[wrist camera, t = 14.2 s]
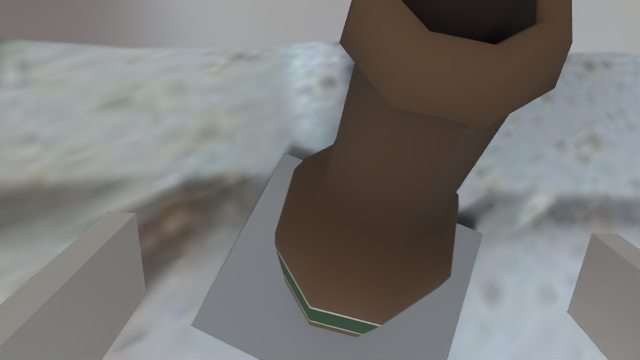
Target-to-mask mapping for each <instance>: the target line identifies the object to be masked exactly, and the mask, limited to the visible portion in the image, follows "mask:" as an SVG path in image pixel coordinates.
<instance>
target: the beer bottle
mask: <svg viewBox="0 0 640 360" xmlns="http://www.w3.org/2000/svg"><path fill="white" fill-rule="evenodd" d="M340 44H341V46H342V47H343V48H344V49H345V51H346V52H347V53H348V54H349V56H350V57H351V58H352V59H353V61H354V62H355V65H354V69H353V73H352V77H351V81H350V85H349V89H348V93H347V97H346V101H345V105H344V109H343V113H342V117H341V122H340V126H339V130H338V134H337V138H336V140H335V142H334V144H333V145H331V146H329V147H327V148H325V149H323V150H321V151H320V152H318V153H316V154H314V155H312V156H310V157H308V158H306V159H304V160H303V161H302V162H301V163H300V164H299V165H298V166H297V167H296V168H295V169H294V172H293V175H292V178H291V182H290V185H289V188H288V192H287V195H286V198H285V202H284V205H283V208H282V212H281V215H280V218H279V221H278V225H277V228H276V231H275V248H276V251H277V255H278V258H279V261H280V265H281V268H282V272H283V275H284V279H285V282H286V284H287V286H288V287H289V289H290V291H291V293H292V294H293V296H294V298H295V300H296V302H297V303H298V305H299V307H300V309H301V310H302V312H303V314H304V316H305V318H306V319H307V321H308V323H309V325H311V326H315V327H319V328H323V329H326V330H330V331H334V332H338V333H342V334H345V335H349V336H353V337H358V336H360V335H363V334H365V333H367V332H369V331H371V330H373V329H375V328H377V327H380V326H382V325H383V324H385V323H386V322H388V321H389V320H391V319H392V318H394V317H395V316H397V315H398V314H400V313H401V312H403V311H404V310H406V309H407V308H409V307H410V306H412V305H413V304H415V303H416V302H418V301H419V300H421V299H422V298H424V297H425V296H427V295H428V294H430V293H431V292H433V291H434V290H436V289H437V288H439V287H440V286H441V285H442V284H443V283H444V282H445V281H447V280H448V279H449V278H450V277H451V270H452V261H453V252H454V243H455V234H456V225H457V216H458V194H457V193H456V192H457V190H458V189H459V187H460V186H461V184H462V183H463V181H464V180H465V178H466V177H467V175H468V174H469V173H470V171H471V170H472V168H473V167H474V165H475V164H476V162H477V161H478V159H479V158H480V156H481V155H482V153H483V152H484V150H485V149H486V147H487V146H488V145H489V143H490V142H491V140H492V139H493V137H494V136H495V134H496V133H497V131H498V130H499V128H500V127H501V125H502V124H503V122H504V121H505V119H506V118H507V117H508V115H509V114H510V113H512V112H514V111H515V110H517V109H519V108H521V107H522V106H524V105H526V104H528V103H529V102H531V101H533V100H535V99H536V98H538V97H540V96H542V95H543V94H545V93H547V92H549V91H550V90H552V89H554V88H555V86H556V83H557V81H558V78H559V76H560V73H561V70H562V68H563V65H564V63H565V60H566V57H567V55H568V52H569V50H570V47H571V44H572V0H352V2H351V5H350V9H349V12H348V16H347V19H346V22H345V26H344V29H343V33H342V36H341V39H340Z"/></svg>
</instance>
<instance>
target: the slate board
mask: <svg viewBox="0 0 640 360" xmlns="http://www.w3.org/2000/svg"><path fill="white" fill-rule="evenodd" d="M302 161H303V160H301V159H299V158H296V157H294V156H291V155H289V154H286V153H284V155H283V157H282V158H281V160H280V162H279V164H278V166H277V168H276V170H275V171H274V173H273V175H272V177H271V179H270V181H269V182H268V184H267V186H266V188H265V190H264V192H263V194H262V195H261V197H260V199H259V201H258V203H257V205H256V206H255V208H254V210H253V212H252V214H251V216H250V218H249V219H248V221H247V223H246V225H245V227H244V229H243V230H242V232H241V234H240V236H239V238H238V240H237V242H236V243H235V245H234V247H233V249H232V251H231V253H230V254H229V256H228V258H227V260H226V262H225V264H224V266H223V267H222V269H221V271H220V273H219V275H218V277H217V278H216V280H215V282H214V284H213V286H212V288H211V290H210V291H209V293H208V295H207V297H206V299H205V301H204V302H203V304H202V306H201V308H200V310H199V312H198V314H197V315H196V317H195V319H194V321H193V323H192V325H191V326H193V327H195V328H197V329H199V330H201V331H203V332H205V333H207V334H209V335H211V336H213V337H215V338H217V339H219V340H221V341H223V342H225V343H227V344H229V345H231V346H233V347H235V348H237V349H239V350H241V351H243V352H245V353H247V354H249V355H252V356H254V357H256V358H258V359H260V360H447V358H448V355H449V351H450V348H451V344H452V341H453V337H454V333H455V330H456V326H457V323H458V319H459V316H460V312H461V309H462V305H463V302H464V298H465V294H466V291H467V287H468V284H469V280H470V277H471V273H472V270H473V266H474V263H475V259H476V255H477V252H478V248H479V245H480V241H481V238H482V233H480V232H477V231H475V230H472V229H470V228H468V227H465V226H463V225H460V224H458V223H457V225H456V234H455V243H454V252H453V261H452V270H451V277H450V278H449V279H448V280H447V281H445V282H444V283H443V284H442V285H441V286H440V287H439V288H437V289H436V290H434V291H433V292H431V293H430V294H428V295H427V296H425V297H424V298H422V299H421V300H419V301H418V302H416V303H415V304H413V305H412V306H410V307H409V308H407V309H406V310H404V311H403V312H401V313H400V314H398V315H397V316H395V317H394V318H392V319H391V320H389V321H388V322H386V323H385V324H383V325H382V326H380V327H377V328H375V329H373V330H371V331H369V332H367V333H365V334H363V335H360V336H358V337H353V336H349V335H345V334H342V333H338V332H334V331H330V330H326V329H323V328H319V327H315V326H311V325H309V323H308V321H307V319H306V318H305V316H304V314H303V312H302V310H301V309H300V307H299V305H298V303H297V302H296V300H295V298H294V296H293V294H292V293H291V291H290V289H289V287H288V286H287V284H286V282H285V279H284V275H283V272H282V268H281V265H280V261H279V258H278V255H277V251H276V248H275V231H276V228H277V225H278V221H279V218H280V215H281V212H282V208H283V205H284V202H285V198H286V195H287V192H288V188H289V185H290V182H291V178H292V175H293V172H294V169H295V168H296V167H297V166H298V165H299V164H300V163H301V162H302Z"/></svg>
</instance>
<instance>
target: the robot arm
mask: <svg viewBox="0 0 640 360" xmlns="http://www.w3.org/2000/svg"><path fill="white" fill-rule="evenodd" d="M145 295H146V291H145V283H144V275H143V267H142V260H141V252H140V244H139V236H138V228H137V220H136V213H117V212H108V213H107V214H106V215H105V216H104V217H102V218H101V219H100V220H99V221H98V222H97V223H95V224H94V225H93V226H92V227H91V228H90V229H88V230H87V231H86V232H85V233H84V234H83V235H81V236H80V237H79V238H78V239H77V240H75V241H74V242H73V243H72V244H71V245H70V246H68V247H67V248H66V249H65V250H64V251H63V252H61V253H60V254H59V255H58V256H57V257H56V258H54V259H53V260H52V261H51V262H50V263H49V264H47V265H46V266H45V267H44V268H43V269H42V270H40V271H39V272H38V273H37V274H36V275H35V276H33V277H32V278H31V279H30V280H29V281H27V282H26V283H25V284H24V285H23V286H22V287H20V288H19V289H18V290H17V291H16V292H15V293H13V294H12V295H11V296H10V297H9V298H8V299H6V300H5V301H4V302H3V303H2V304H1V305H0V360H102V359H103V357H104V356H105V354H106V353H107V351H108V350H109V348H110V347H111V345H112V344H113V342H114V341H115V339H116V338H117V336H118V335H119V333H120V332H121V330H122V329H123V327H124V326H125V324H126V323H127V321H128V320H129V318H130V317H131V315H132V314H133V312H134V311H135V310H136V308H137V307H138V305H139V304H140V302H141V301H142V299H143V298H144V296H145ZM567 312H568V313H569V315H570V316H571V317H572V318H573V319H574V320H575V322H576V323H577V324H578V325H579V326H580V327H581V328H582V330H583V331H584V332H585V333H586V334H587V335H588V337H589V338H590V339H591V340H592V341H593V342H594V344H595V345H596V346H597V347H598V348H599V349H600V351H601V352H602V353H603V354H604V355H605V356H606V358H607V359H608V360H640V249H638V248H637V247H636V246H634V245H633V244H631V243H630V242H628V241H627V240H626V239H624V238H623V237H621V236H620V235H617V234H594V233H592V235H591V238H590V241H589V245H588V248H587V251H586V254H585V257H584V260H583V264H582V267H581V270H580V273H579V276H578V279H577V283H576V286H575V289H574V292H573V295H572V298H571V302H570V305H569V308H568V311H567Z"/></svg>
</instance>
